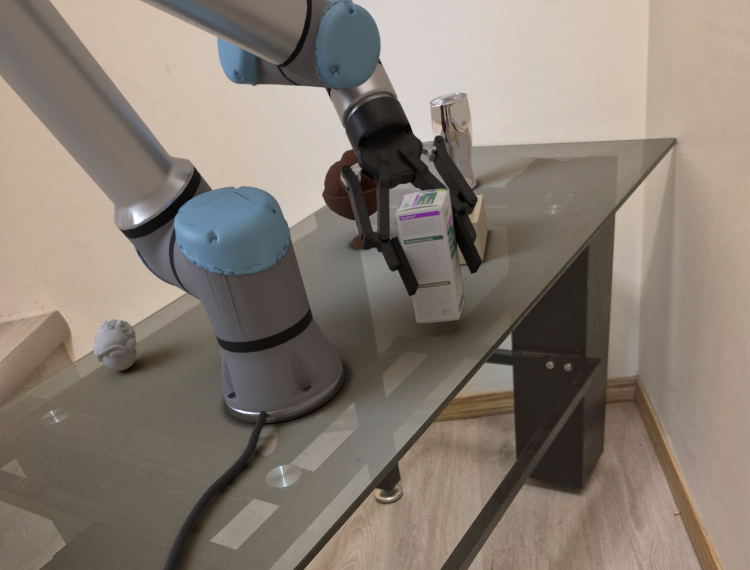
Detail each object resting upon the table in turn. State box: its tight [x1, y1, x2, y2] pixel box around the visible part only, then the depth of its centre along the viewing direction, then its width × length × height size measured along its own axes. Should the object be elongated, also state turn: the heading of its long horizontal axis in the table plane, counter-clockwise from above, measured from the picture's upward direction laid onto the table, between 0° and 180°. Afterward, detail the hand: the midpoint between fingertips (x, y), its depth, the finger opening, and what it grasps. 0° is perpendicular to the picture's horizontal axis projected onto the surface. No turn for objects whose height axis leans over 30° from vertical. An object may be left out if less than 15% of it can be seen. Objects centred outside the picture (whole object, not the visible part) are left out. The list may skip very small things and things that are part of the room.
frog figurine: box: [93, 318, 138, 372], centre depth 105 cm, size 6×7×7 cm
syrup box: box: [394, 189, 466, 324], centre depth 90 cm, size 6×6×14 cm
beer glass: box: [429, 92, 478, 190], centre depth 131 cm, size 7×7×15 cm
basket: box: [457, 193, 488, 265], centre depth 113 cm, size 11×11×6 cm
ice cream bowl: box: [321, 148, 377, 250], centre depth 120 cm, size 11×11×15 cm
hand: (445, 279), depth 89 cm, fingers closed on syrup box, 8 cm apart
